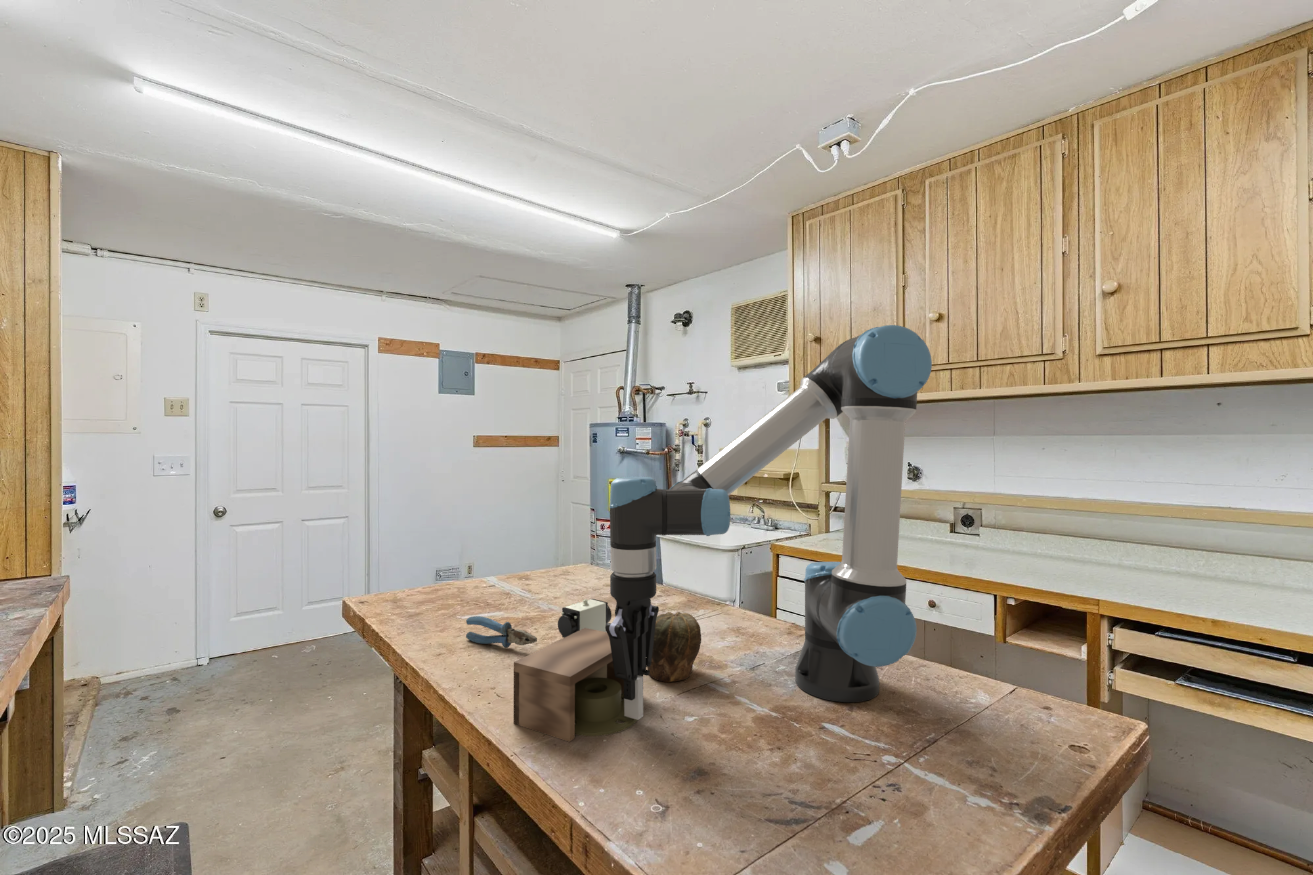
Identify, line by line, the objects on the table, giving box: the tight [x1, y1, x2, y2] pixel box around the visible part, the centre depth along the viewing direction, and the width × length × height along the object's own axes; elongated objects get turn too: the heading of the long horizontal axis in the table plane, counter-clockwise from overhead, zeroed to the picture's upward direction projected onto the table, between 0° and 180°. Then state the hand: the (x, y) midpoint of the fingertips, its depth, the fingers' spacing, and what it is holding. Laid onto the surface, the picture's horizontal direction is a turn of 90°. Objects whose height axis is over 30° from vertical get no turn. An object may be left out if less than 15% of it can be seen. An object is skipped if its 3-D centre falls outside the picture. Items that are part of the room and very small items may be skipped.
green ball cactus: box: [646, 611, 702, 683], centre depth 114 cm, size 11×11×12 cm
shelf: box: [513, 628, 624, 743], centre depth 100 cm, size 12×19×10 cm, turn 151°
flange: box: [575, 677, 638, 737], centre depth 98 cm, size 5×15×15 cm
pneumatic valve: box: [557, 598, 613, 639], centre depth 123 cm, size 6×12×12 cm, turn 141°
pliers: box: [465, 615, 538, 649], centre depth 128 cm, size 20×2×6 cm, turn 61°
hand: (633, 715), depth 95 cm, fingers closed
